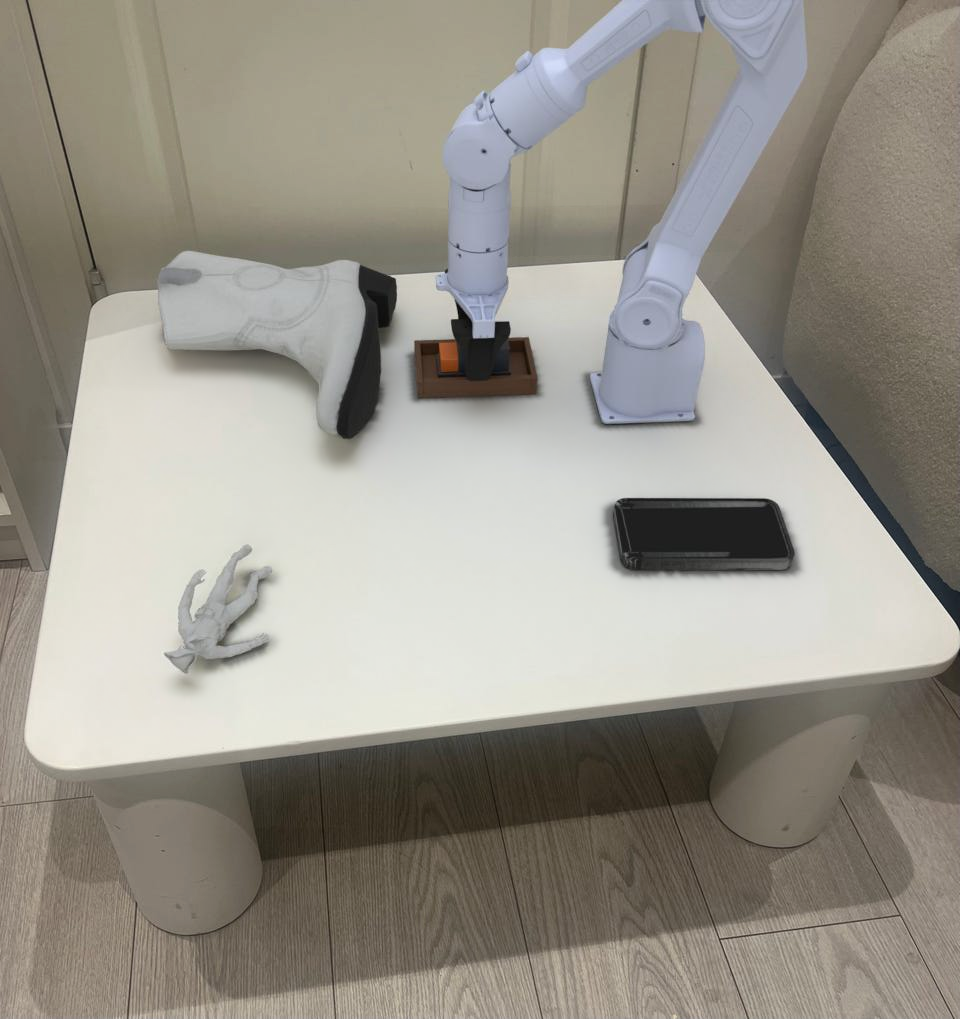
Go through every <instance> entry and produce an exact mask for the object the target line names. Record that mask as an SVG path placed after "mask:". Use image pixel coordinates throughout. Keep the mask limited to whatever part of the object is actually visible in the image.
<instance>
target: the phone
mask: <svg viewBox="0 0 960 1019" xmlns="http://www.w3.org/2000/svg"><path fill="white" fill-rule="evenodd" d="M612 517H613V523H614V529H615V534H616V542H617V547H618V553H619V559H620V561H621V564H622V565H623V567H625V568H627V569H630V570H635V571H636V570H638V571H639V570H640V571H643V570H644V571H650V570H651V571H654V570H657V571H665V570H666V571H673V570H674V571H679V570H680V571H681V570H682V571H686V570H687V571H692V570H693V571H694V570H695V571H704V570H705V571H707V570H708V571H709V570H710V571H711V570H713V571H717V570H718V571H722V570H723V571H728V570H730V571H736V570H737V571H743V570H744V571H754V570H755V571H758V570H759V571H760V570H761V571H766V570H767V571H770V570H771V571H773V570H774V571H781V570H787V569H789V568H790V567H791V566H792V563H793V560H794V558H795V554H796V553H795V549H794V546H793V543H792V540H791V537H790V533H789V531H788V528H787V525H786V522H785V518H784V517H783V513H782V510H781V507H780V505H779V504H778V503H777V502H776V501H774V500H773V499H769V498H766V497H765V498H764V497H762V498H761V497H755V498H754V497H753V498H752V497H621V498H619V499H617V500H616V501H615V503H614V506H613V511H612Z"/></svg>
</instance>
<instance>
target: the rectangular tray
mask: <svg viewBox="0 0 960 1019" xmlns="http://www.w3.org/2000/svg"><path fill="white" fill-rule="evenodd" d="M451 342H456V340H455V338H452V339H451V338H450V339H449V338H448V339H447V338H446V339H421V340H420V339H419V340H418V339H416V340H414V341H413V346H414V347H413V348H414V352H413V353H414V354H413V355H414V367H415V381H416V382H415V383H416V393H417V398H418V399H430V398H431V399H432V398H434V399H435V398H459V397H460V398H461V397H488V396H489V397H490V396H491V397H492V396H517V395H518V396H521V395H536V394H537V388H538V380H539V379H538V374H537V369H536V364H535V360H534V355H533V351H532V346H531V342H530V338H529V336H516V337H509V338H508V342H509V347H510V353H509V364H510V369H511V375H508V376H490V378H489V380H488V381H469V380H468V378H467V377H447V378H438V374H437V364H436V354H439V343H451Z"/></svg>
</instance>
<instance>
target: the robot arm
mask: <svg viewBox="0 0 960 1019" xmlns="http://www.w3.org/2000/svg"><path fill="white" fill-rule="evenodd" d="M706 19H707V20H708V21H709V23H710V24H711V25H712V27H713V28H714V29H715V30H716V31H717V32H718V33H719V34H720V35H721V36H722V37H723V38H724V39H725V40H726V41H727V42H728V43H729V45H730V47H731V49H732V52H733V54H734V56H735V59H736V61H737V65H738V67H739V68H738V70H737V72H736V74H735V76H734V78H733V80H732V81H731V82H730V85H729V87H728V89H727V91H726V93H725V95H724V97H723V98H722V101H721V103H720V104H719V107H718V108H717V111H716V113H715V114H714V117H713V118H712V121H711V122H710V124H709V126H708V128H707V130H706V132H705V134H704V135H703V138H702V139H701V142H700V143H699V145H698V148H697V149H696V151H695V153H694V155H693V156H692V159H691V161H690V163H689V165H688V166H687V169H686V171H685V173H684V174H683V177H682V178H681V180H680V182H679V183H678V186H677V188H676V189H675V192H674V194H673V196H672V197H671V200H670V202H669V203H668V205H667V207H666V210H665V211H664V213H663V215H662V217H661V219H660V221H659V222H658V223H656V224H655V225H654V226H653V227H652V228H651V230H650V233H649V234H648V236H647V238H645V239H644V240H643V242H641V244H639V245H638V246H636V247H634V248H633V249H632V250H631V251H630V252H629V253H628V254H627V256H626V257H625V260H624V262H623V265H622V278H621V283H620V287H619V292H618V297H617V302H616V304H615V305H614V308H613V310H612V312H611V313H610V315H609V318H608V324H607V326H608V327H607V334H606V340H605V346H604V347H605V348H604V354H603V360H602V361H603V362H602V369H601V372H599V371H598V372H591V373H590V374H589V381H590V385H591V388H592V392H593V395H594V399H595V402H596V405H597V410H598V413H599V418H600V420H601V422H602V423H603V424H606V425H612V424H638V423H643V424H644V423H665V422H666V423H667V422H692V421H694V420H695V418H696V413H695V411H694V410H695V407H696V402H697V397H698V393H699V389H700V383H701V380H702V376H703V371H704V367H705V366H704V365H705V360H706V359H705V357H706V341H705V336H704V331H703V328H702V326H701V324H700V322H698V321H696V320H689V319H684V318H683V307H684V304H685V302H686V300H687V298H688V297H689V295H690V292H691V291H692V290H691V289H692V287H693V285H694V282H695V281H694V280H695V278H696V276H697V273H698V271H699V267H700V264H701V261H702V260H703V257H704V255H705V253H706V252H707V250H708V248H709V246H710V245H711V242H712V241H713V239H714V237H715V235H716V234H717V232H718V230H719V228H720V227H721V225H722V223H723V221H724V220H725V218H726V216H727V214H728V213H729V211H730V209H731V207H732V206H733V204H734V203H735V200H736V199H737V198H738V195H739V193H740V192H741V190H742V188H743V186H744V185H745V183H746V181H747V179H748V178H749V176H750V174H751V172H752V171H753V169H754V167H755V166H756V164H757V162H758V161H759V159H760V157H761V155H762V153H763V151H764V149H765V148H766V146H767V144H768V142H769V141H770V139H771V137H772V135H773V133H774V132H775V130H776V129H777V126H778V125H779V123H780V121H781V119H782V118H783V116H784V114H785V112H786V111H787V109H788V107H789V105H790V104H791V102H792V101H793V98H794V96H795V95H796V94H797V92H798V90H799V88H800V86H801V85H802V83H803V81H804V79H805V76H806V74H807V71H808V52H807V51H808V47H807V32H806V22H805V8H804V0H621V1H620V2H618V4H616V5H615V6H614V7H613V8H612V9H611V10H609V11H608V13H607V12H606V14H605V15H604V16H603V17H602V18H601V19H599V20H598V21H596V23H595V24H594V25H593V26H591V27H590V28H589V29H588V30H587V31H586V32H585V33H583V35H581V36H580V37H579V38H578V39H577V40H576V41H574V42H573V43H572V44H571V45H570V46H569V47H568V48H557V47H543V48H541V49H540V50H539V51H537V53H535V54H534V55H533V54H532V53H531V51H529V50H527V51H525V53H522V55H521V56H519V57H518V58H517V60H516V62H515V64H514V68H515V71H514V72H513V73H511V74H510V75H509V76H508V77H506V78H505V79H504V80H503V81H502V82H501V83H499V84H498V85H497V86H496V87H495V88H493V89H492V90H491V91H490V92H489V93H488V92H487V91H486V90H482V91H481V92H480V93H479V94H477V95H476V96H475V98H474V100H473V102H472V103H470V104H469V105H467V106H465V107H464V108H463V109H462V110H461V112H460V113H459V115H458V116H457V118H456V120H455V122H454V124H453V125H452V127H451V129H450V131H449V133H448V135H447V137H446V139H445V141H444V145H443V148H442V156H441V157H442V163H443V166H444V169H445V171H446V173H447V175H449V189H448V193H447V194H448V197H447V198H448V200H447V202H448V204H447V205H448V207H447V208H448V209H447V214H448V215H447V220H448V221H447V268H446V269H445V270H444V273H438V274H436V275H435V288H436V290H437V291H440V292H448V294H450V295H451V296H452V298H453V299H454V303H455V307H456V312H457V318H451V319H450V326H451V333H452V335H453V339H455V340H456V341H457V343H458V344H459V346H460V348H461V351H462V354H463V358H464V364H465V370H466V375H467V378H468V380H469V381H488V380H489V378H490V375H491V372H492V369H493V366H494V363H495V359H496V357H497V354H498V352H499V350H500V348H501V347H502V345H503V344H504V343H505V341H506V340H507V339H508V338H510V337H511V332H512V328H511V322H510V320H503V321H500V320H499V321H496V316H497V314H498V311H499V310H500V308H501V305H502V303H503V301H504V298H505V296H506V294H507V292H508V289H509V282H510V281H509V276H508V262H509V244H510V226H511V225H510V224H511V223H510V222H511V205H512V191H511V190H512V189H511V172H512V170H511V169H512V163H511V160H512V158H514V157H515V156H518V155H522V154H524V153H526V152H528V151H530V150H531V149H532V148H533V147H535V146H536V145H537V144H539V143H541V141H542V140H544V139H545V138H547V137H548V136H550V135H551V134H552V133H553V132H554V131H556V130H557V129H558V128H560V127H561V126H562V125H563V124H564V123H565V124H566V123H567V121H569V120H570V119H571V118H572V117H574V116H575V115H577V114H578V113H579V112H580V111H582V110H583V109H584V108H585V105H586V101H587V93H588V92H587V91H588V86H589V85H590V84H591V83H593V82H594V81H596V80H597V79H599V78H600V77H602V76H603V75H604V74H607V72H608V71H610V70H612V69H613V68H614V67H615V66H617V65H619V64H620V63H622V62H623V61H624V60H626V59H627V58H629V57H630V56H631V55H632V54H634V53H635V52H637V51H638V50H640V49H641V48H642V47H644V46H645V45H647V44H648V43H649V42H651V41H652V40H654V39H655V38H656V37H658V36H659V35H661V34H662V33H664V32H665V31H667V30H674V31H680V32H687V33H692V34H702V33H704V27H705V23H706V22H705V21H706Z"/></svg>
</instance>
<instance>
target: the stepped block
mask: <svg viewBox="0 0 960 1019" xmlns="http://www.w3.org/2000/svg"><path fill="white" fill-rule="evenodd" d="M509 353H510V347H509V342H508V339H507V340H506V341H505V343H504V344H503V345H502V347H501V348H500V350H499V352H498V354H497V357H496V359H495V363H494V366H493V369H492V372H491V375H490V376H508V375H511V369H510V364H509ZM436 364H437V374H438V378H447V377H467V375H466V370H465V364H464V358H463V354H462V351H461V348H460V346H459V344H458V343H457V341H456V342H451V343H439V354H436Z"/></svg>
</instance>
